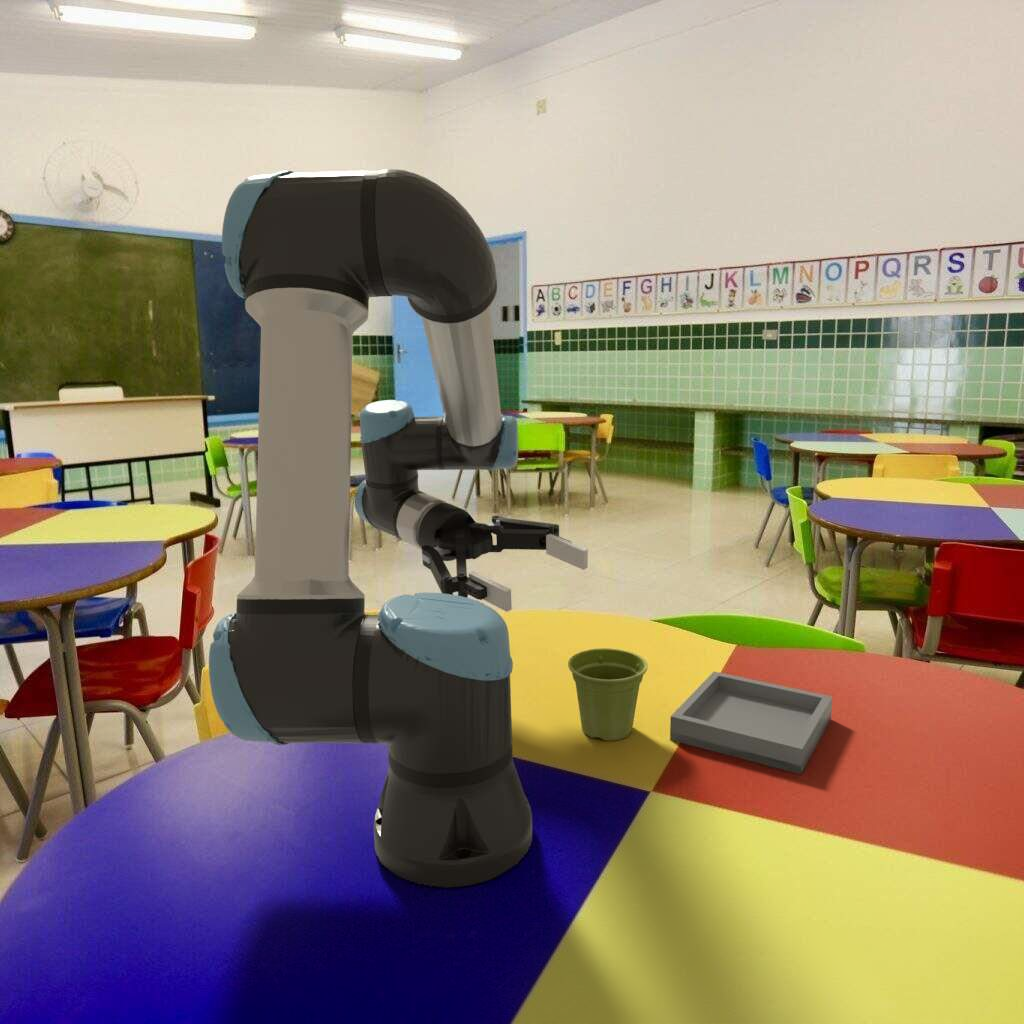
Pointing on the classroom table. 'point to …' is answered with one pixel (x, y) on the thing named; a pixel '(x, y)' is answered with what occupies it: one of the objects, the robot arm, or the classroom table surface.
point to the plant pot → (607, 690)
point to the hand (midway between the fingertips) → (549, 579)
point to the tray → (753, 721)
